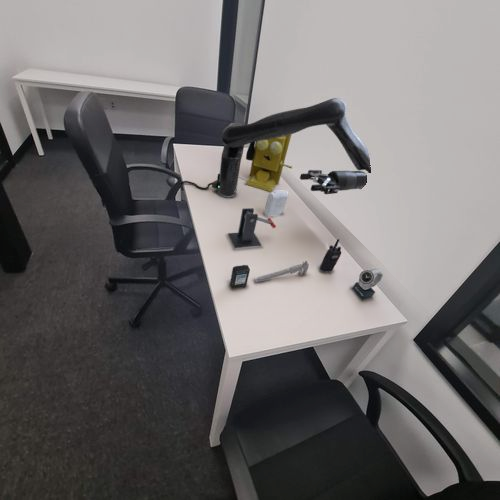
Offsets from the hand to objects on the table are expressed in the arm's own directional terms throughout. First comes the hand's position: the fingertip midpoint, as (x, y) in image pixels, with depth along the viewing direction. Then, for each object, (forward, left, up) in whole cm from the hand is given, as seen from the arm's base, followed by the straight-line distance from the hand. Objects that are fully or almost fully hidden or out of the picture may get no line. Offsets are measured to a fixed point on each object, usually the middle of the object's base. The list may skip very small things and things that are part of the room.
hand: (305, 182), depth 98 cm
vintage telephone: (-34, +38, -26) cm, 57 cm away
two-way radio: (+20, -9, -26) cm, 34 cm away
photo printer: (-13, +13, -26) cm, 32 cm away
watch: (+35, -13, -26) cm, 45 cm away
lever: (-10, -12, -17) cm, 23 cm away
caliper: (+8, -25, -26) cm, 37 cm away
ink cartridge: (-2, -38, -26) cm, 46 cm away
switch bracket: (-13, -16, -26) cm, 33 cm away
